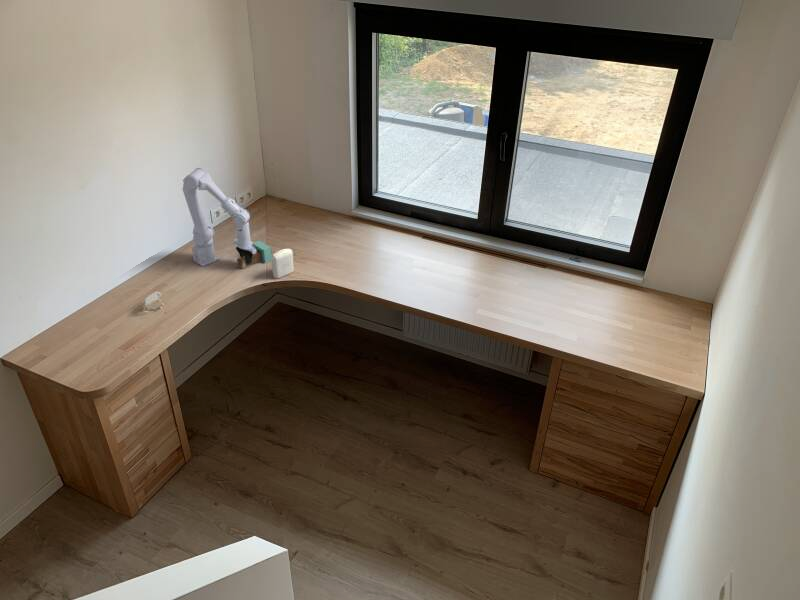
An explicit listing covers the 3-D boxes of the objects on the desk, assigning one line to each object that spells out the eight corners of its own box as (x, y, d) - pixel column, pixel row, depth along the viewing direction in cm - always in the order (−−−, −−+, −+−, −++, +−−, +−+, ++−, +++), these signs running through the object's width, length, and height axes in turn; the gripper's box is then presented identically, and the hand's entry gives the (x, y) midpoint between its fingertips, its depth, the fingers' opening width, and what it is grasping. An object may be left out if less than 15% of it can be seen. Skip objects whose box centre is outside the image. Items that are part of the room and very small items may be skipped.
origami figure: (163, 314, 254) (161, 304, 252) (142, 315, 253) (140, 305, 250) (168, 298, 264) (166, 288, 261) (148, 298, 263) (146, 289, 260)
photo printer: (289, 268, 288) (288, 245, 281) (295, 271, 285) (293, 248, 278) (271, 276, 281) (269, 252, 274) (277, 279, 279) (275, 256, 272)
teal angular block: (265, 263, 291) (263, 250, 287) (253, 256, 295) (252, 243, 291) (272, 260, 293) (270, 247, 289) (260, 253, 298) (258, 240, 294)
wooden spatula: (241, 269, 285) (240, 261, 283) (237, 266, 287) (236, 258, 284) (272, 256, 296) (272, 248, 294) (268, 253, 298) (268, 246, 296)
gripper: (260, 238, 279) (263, 264, 286) (241, 227, 286) (244, 253, 294) (247, 243, 274) (250, 269, 282) (228, 232, 282) (231, 258, 290)
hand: (246, 261), depth 288 cm, fingers closed on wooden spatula, 3 cm apart
